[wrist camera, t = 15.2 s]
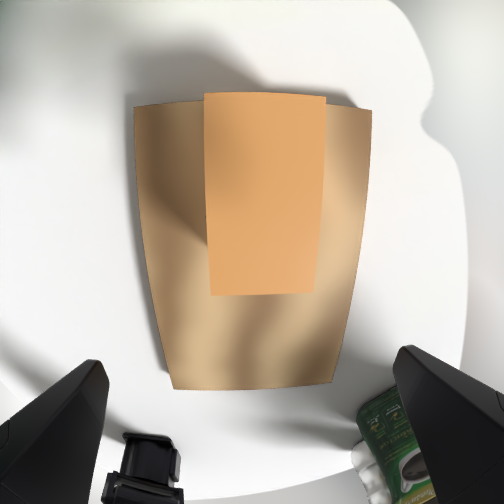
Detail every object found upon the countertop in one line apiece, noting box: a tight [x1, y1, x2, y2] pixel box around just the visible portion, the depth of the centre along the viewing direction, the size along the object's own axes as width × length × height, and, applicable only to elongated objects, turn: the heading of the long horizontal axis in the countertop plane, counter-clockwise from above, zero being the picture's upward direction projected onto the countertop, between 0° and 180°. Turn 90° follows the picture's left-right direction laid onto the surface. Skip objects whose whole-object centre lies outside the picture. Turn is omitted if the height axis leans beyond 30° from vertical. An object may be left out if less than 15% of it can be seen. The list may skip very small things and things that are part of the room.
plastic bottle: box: [351, 440, 392, 504], centre depth 23 cm, size 6×7×20 cm
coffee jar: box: [356, 386, 438, 504], centre depth 20 cm, size 10×8×19 cm
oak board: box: [134, 101, 372, 390], centre depth 19 cm, size 14×22×2 cm, turn 0°
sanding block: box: [204, 92, 326, 296], centre depth 14 cm, size 5×9×5 cm, turn 0°
